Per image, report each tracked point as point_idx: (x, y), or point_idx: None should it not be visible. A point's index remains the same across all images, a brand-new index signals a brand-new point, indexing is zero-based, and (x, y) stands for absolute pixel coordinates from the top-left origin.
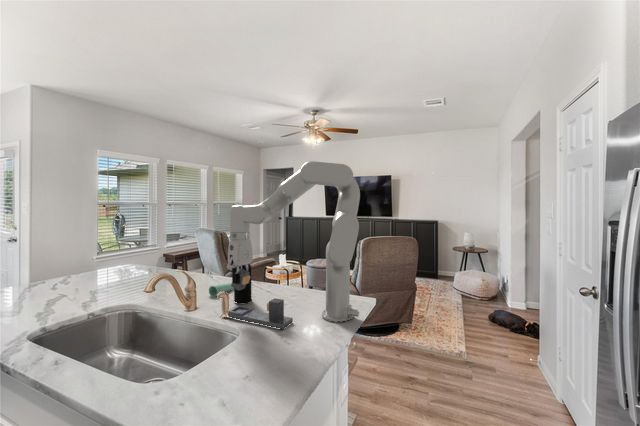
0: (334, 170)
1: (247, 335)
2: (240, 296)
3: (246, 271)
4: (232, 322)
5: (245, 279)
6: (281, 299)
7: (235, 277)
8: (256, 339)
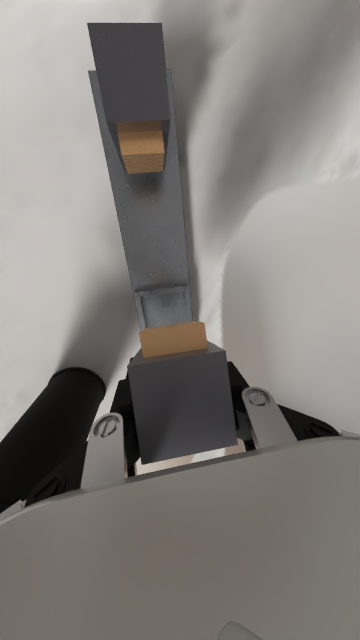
0: None
1: (250, 190)
2: (91, 394)
3: (147, 393)
4: (204, 296)
5: (198, 322)
6: (94, 49)
7: (242, 379)
8: (261, 140)
